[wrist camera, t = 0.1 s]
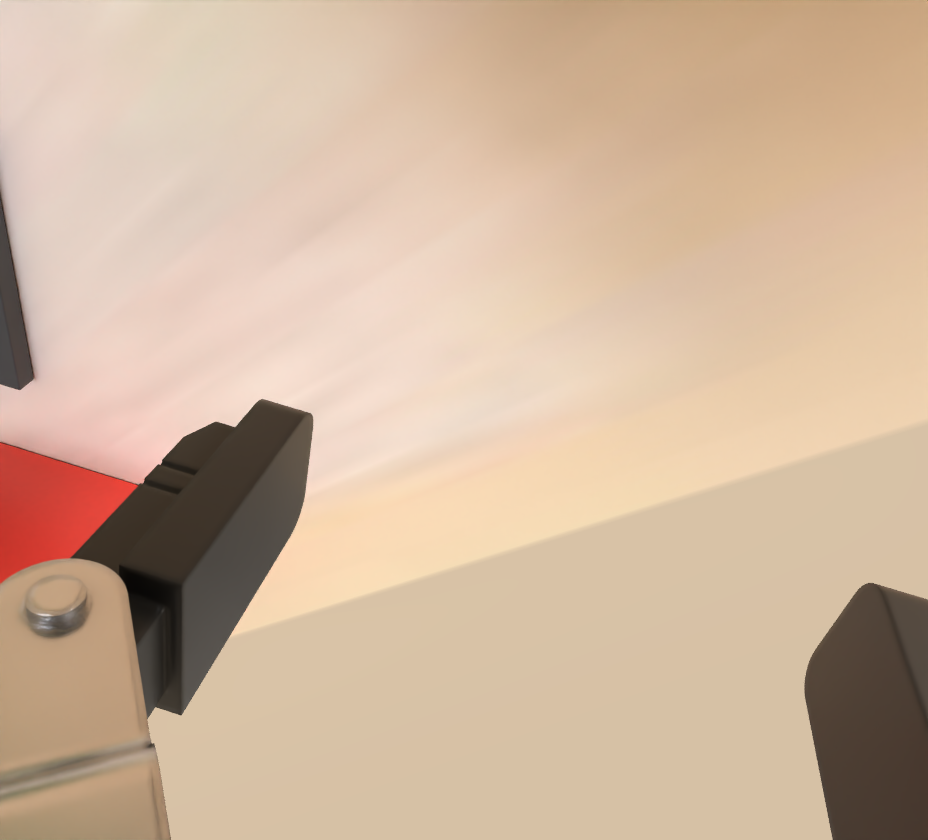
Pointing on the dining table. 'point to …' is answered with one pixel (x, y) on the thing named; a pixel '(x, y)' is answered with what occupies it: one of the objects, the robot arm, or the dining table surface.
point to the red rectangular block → (49, 507)
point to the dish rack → (11, 322)
